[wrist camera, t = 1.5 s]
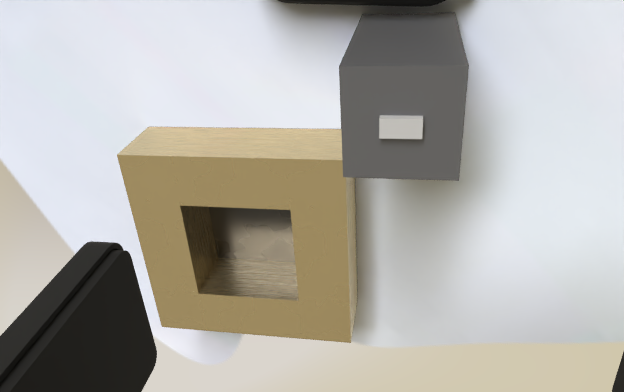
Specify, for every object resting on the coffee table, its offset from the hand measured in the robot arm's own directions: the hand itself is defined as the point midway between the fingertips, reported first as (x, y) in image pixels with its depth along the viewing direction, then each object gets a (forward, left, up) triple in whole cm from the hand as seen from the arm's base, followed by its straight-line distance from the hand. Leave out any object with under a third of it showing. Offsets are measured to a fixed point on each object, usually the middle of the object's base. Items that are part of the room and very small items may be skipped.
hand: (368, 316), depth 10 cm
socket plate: (+8, +9, -17) cm, 21 cm away
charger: (0, 0, -17) cm, 17 cm away
